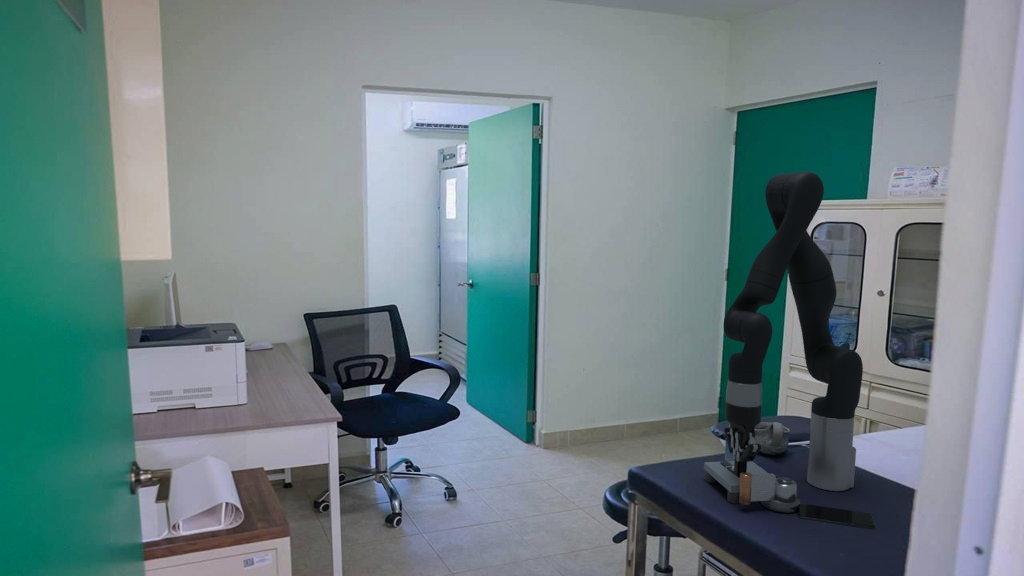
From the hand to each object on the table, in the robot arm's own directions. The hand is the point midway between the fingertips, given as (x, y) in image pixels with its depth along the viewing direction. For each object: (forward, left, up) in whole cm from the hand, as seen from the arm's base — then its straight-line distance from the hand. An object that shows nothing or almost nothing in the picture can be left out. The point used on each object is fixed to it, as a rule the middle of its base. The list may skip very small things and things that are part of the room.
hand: (740, 476), depth 150 cm
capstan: (-4, +4, -5) cm, 8 cm away
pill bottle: (-9, -18, -6) cm, 20 cm away
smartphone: (-16, +10, -6) cm, 20 cm away
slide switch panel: (-3, -5, -6) cm, 8 cm away
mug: (-23, -26, -6) cm, 35 cm away
